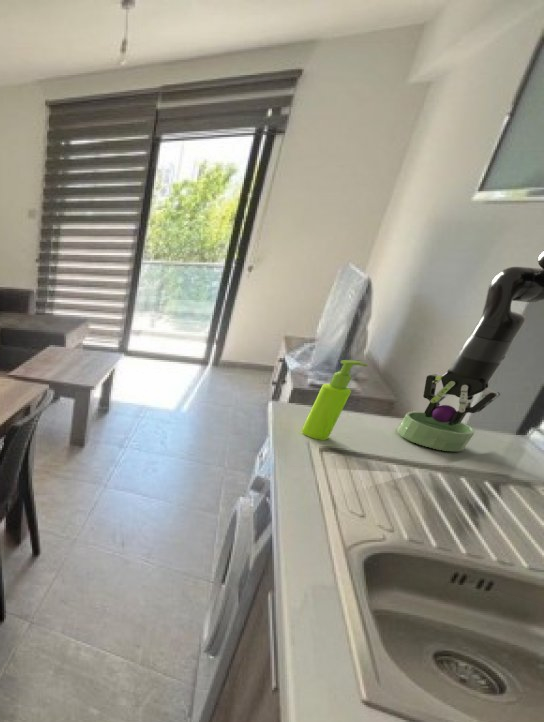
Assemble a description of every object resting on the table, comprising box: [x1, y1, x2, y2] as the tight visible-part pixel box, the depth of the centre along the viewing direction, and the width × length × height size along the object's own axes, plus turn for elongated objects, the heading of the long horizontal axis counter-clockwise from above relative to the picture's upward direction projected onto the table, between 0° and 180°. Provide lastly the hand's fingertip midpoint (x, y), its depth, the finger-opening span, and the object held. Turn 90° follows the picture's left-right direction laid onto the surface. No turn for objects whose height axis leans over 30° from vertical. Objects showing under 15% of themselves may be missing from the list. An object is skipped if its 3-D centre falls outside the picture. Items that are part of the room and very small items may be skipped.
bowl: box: [396, 411, 476, 452], centre depth 124 cm, size 13×13×6 cm
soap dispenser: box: [301, 359, 368, 441], centre depth 120 cm, size 6×7×20 cm
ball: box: [432, 404, 457, 422], centre depth 122 cm, size 4×4×4 cm
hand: (440, 420), depth 122 cm, fingers closed on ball, 4 cm apart
